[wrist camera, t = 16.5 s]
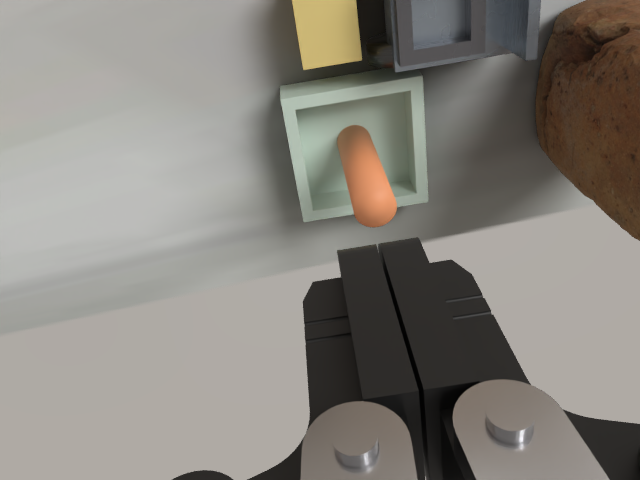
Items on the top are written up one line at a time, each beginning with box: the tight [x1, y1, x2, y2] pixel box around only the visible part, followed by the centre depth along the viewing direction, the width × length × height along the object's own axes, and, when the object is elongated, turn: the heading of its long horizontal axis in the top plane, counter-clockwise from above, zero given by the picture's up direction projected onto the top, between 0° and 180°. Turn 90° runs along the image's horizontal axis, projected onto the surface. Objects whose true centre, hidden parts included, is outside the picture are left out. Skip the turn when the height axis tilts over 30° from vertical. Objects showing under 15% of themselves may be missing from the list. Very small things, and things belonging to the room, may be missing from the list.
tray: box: [280, 68, 428, 222], centre depth 38 cm, size 9×9×3 cm
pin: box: [337, 125, 397, 227], centre depth 34 cm, size 2×2×10 cm
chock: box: [292, 0, 362, 70], centre depth 33 cm, size 4×5×4 cm
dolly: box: [366, 0, 541, 73], centre depth 31 cm, size 9×6×8 cm, turn 98°
